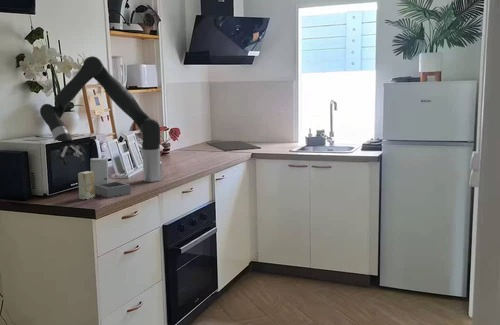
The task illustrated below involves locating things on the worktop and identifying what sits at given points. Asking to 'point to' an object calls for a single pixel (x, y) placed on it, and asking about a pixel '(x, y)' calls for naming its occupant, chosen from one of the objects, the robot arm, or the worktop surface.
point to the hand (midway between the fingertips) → (74, 163)
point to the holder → (112, 189)
